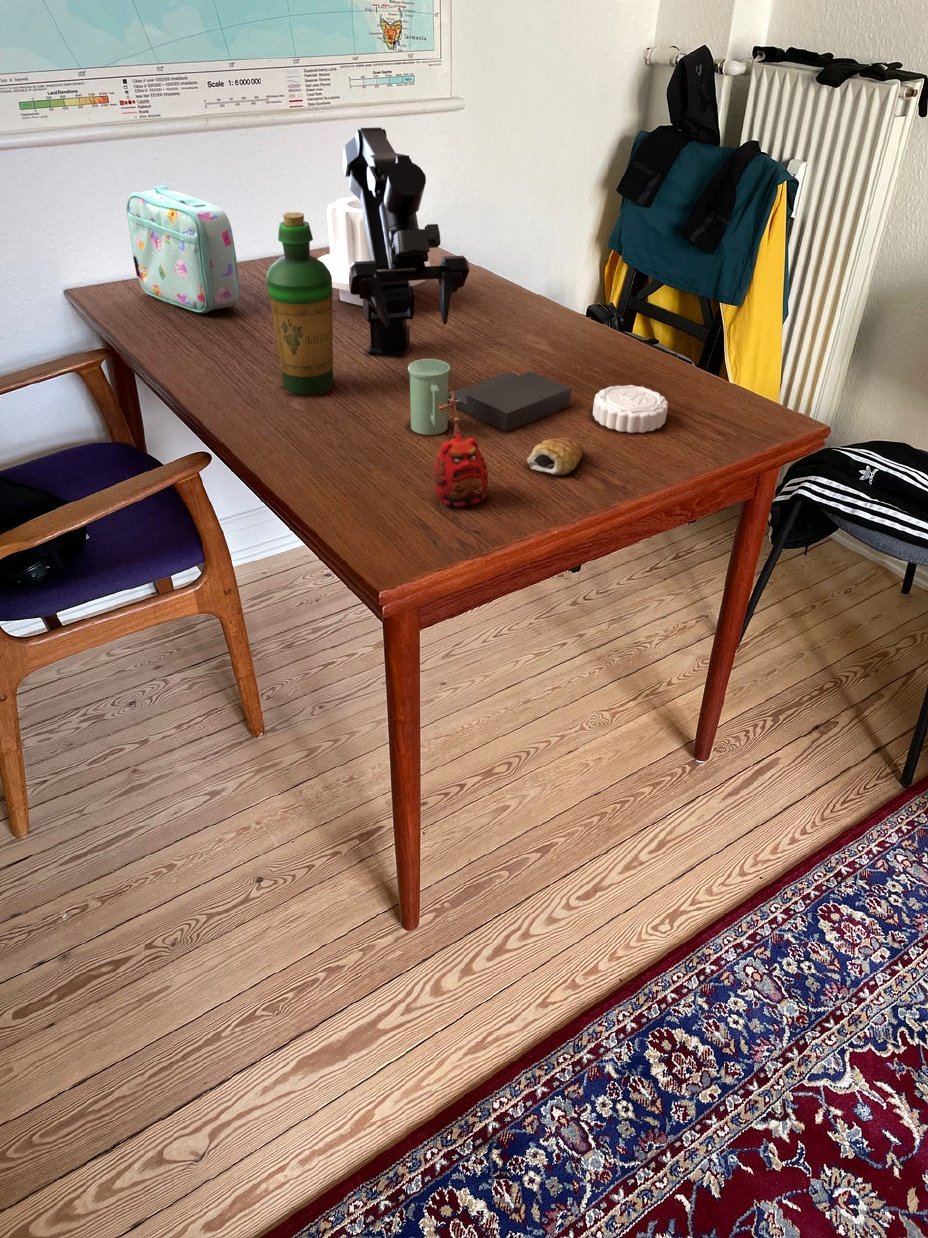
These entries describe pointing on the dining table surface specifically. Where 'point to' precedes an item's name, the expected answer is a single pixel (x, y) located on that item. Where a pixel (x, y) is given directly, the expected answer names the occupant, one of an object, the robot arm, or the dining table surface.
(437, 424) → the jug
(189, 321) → the dining table surface
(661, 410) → the mooncake
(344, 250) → the ribbed cylinder on disc
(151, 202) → the lunch box
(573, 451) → the pastry
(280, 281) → the bottle
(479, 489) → the red clay folk toy
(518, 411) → the step shelf
